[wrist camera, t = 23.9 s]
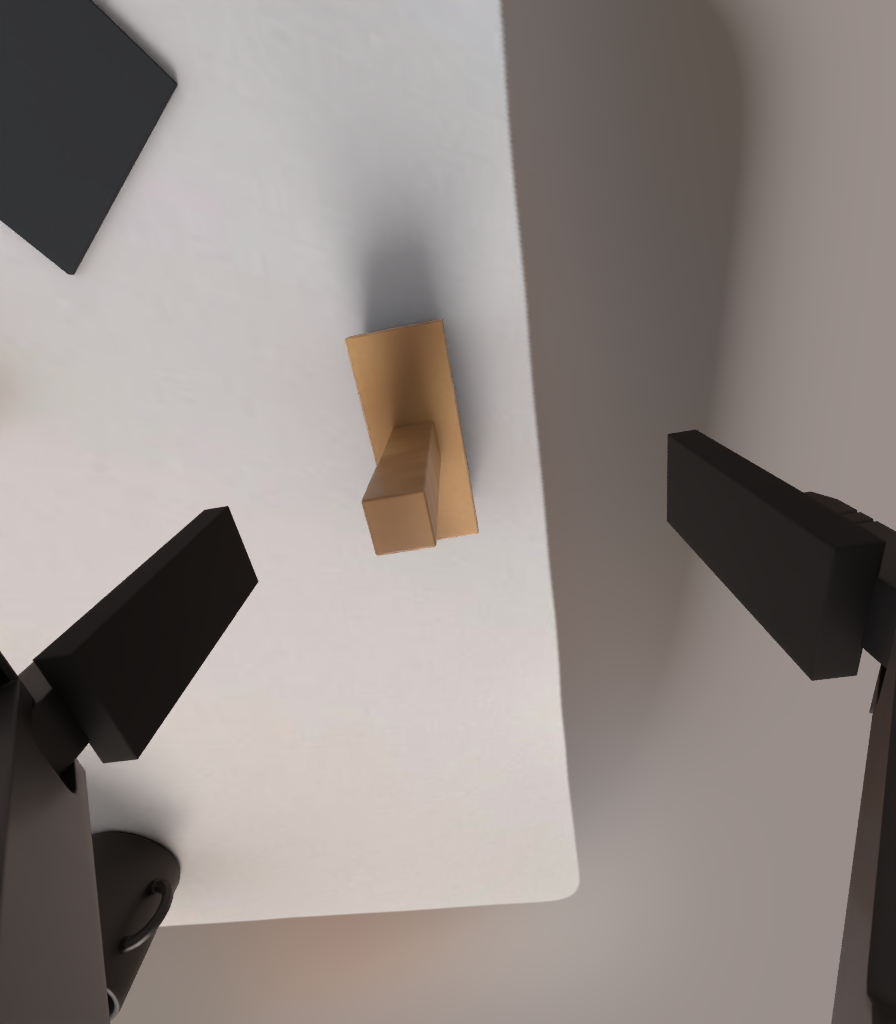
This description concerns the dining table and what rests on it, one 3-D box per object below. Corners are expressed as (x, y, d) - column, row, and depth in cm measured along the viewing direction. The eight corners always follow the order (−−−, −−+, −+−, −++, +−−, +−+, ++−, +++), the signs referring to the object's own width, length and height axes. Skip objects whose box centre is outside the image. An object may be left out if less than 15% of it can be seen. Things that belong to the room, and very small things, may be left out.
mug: (227, 875, 43) (175, 1010, 35) (118, 904, 45) (44, 1039, 37) (164, 810, 40) (90, 944, 32) (48, 845, 42) (-50, 980, 34)
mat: (-60, -147, 18) (-71, -157, 18) (178, 84, 21) (173, 81, 20) (-144, 101, 21) (-154, 98, 21) (74, 275, 24) (68, 275, 23)
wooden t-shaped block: (443, 316, 24) (436, 334, 13) (475, 505, 29) (492, 648, 17) (358, 332, 25) (278, 365, 13) (403, 517, 29) (371, 664, 17)
